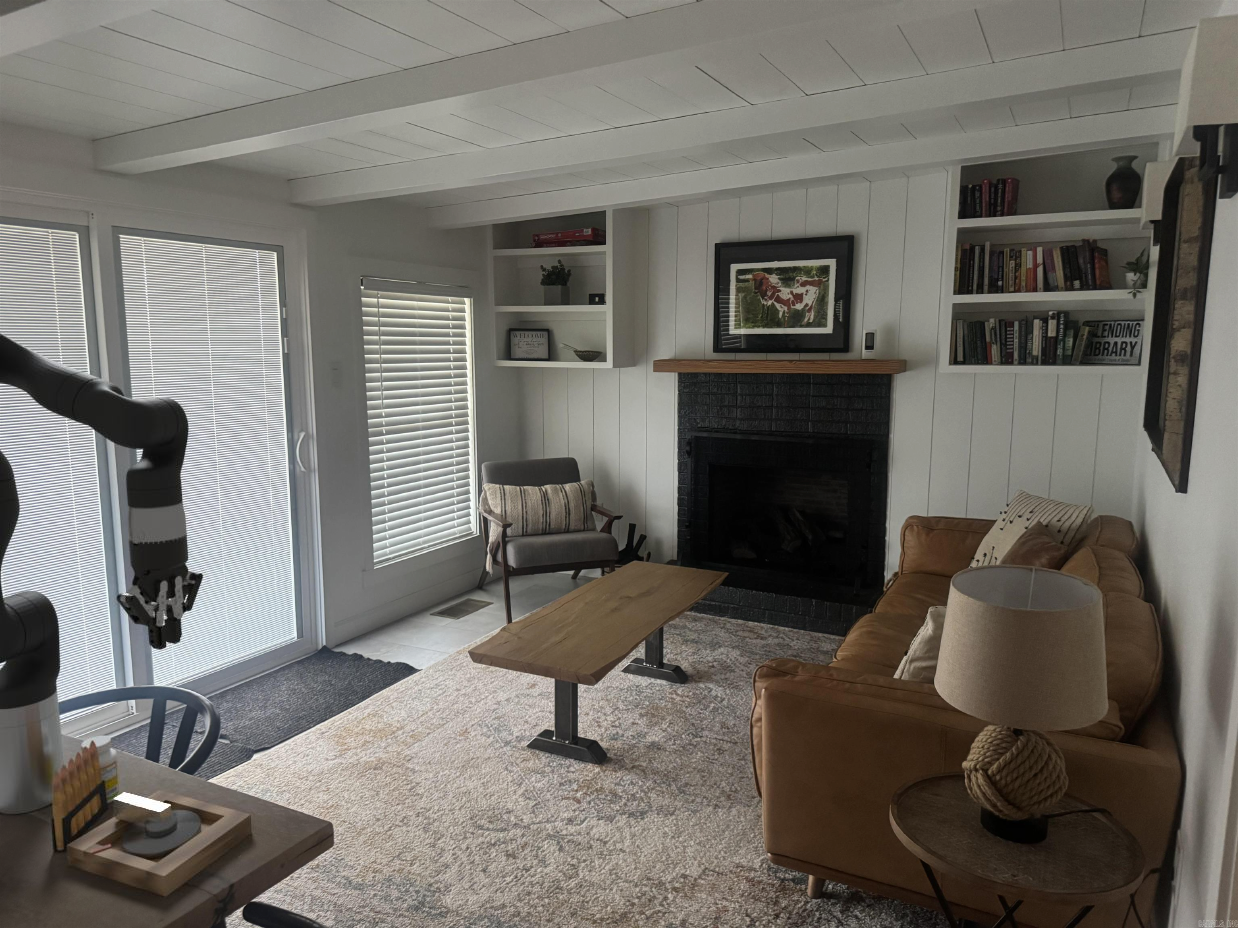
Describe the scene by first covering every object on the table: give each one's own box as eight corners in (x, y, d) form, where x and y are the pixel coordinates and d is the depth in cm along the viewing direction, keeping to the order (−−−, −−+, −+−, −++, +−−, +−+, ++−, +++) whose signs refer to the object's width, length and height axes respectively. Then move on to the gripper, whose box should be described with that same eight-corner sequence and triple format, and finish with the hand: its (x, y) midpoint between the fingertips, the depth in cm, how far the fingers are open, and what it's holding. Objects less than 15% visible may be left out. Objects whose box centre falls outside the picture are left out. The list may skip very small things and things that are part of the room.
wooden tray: (66, 865, 114) (64, 844, 113) (161, 807, 128) (159, 788, 127) (164, 897, 108) (162, 875, 107) (251, 832, 122) (250, 812, 121)
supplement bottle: (86, 791, 132) (81, 735, 130) (124, 786, 133) (119, 731, 132) (76, 810, 127) (70, 751, 125) (115, 804, 128) (110, 747, 127)
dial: (216, 825, 120) (214, 795, 120) (158, 866, 111) (155, 834, 110) (151, 807, 125) (148, 778, 124) (89, 844, 115) (86, 813, 115)
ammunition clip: (66, 852, 117) (58, 774, 115) (52, 852, 116) (44, 774, 115) (108, 808, 127) (102, 737, 125) (96, 809, 127) (89, 737, 125)
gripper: (177, 521, 128) (185, 626, 131) (95, 541, 115) (105, 658, 118) (215, 526, 125) (221, 633, 128) (135, 547, 113) (144, 666, 115)
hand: (166, 644), depth 123 cm, fingers closed
